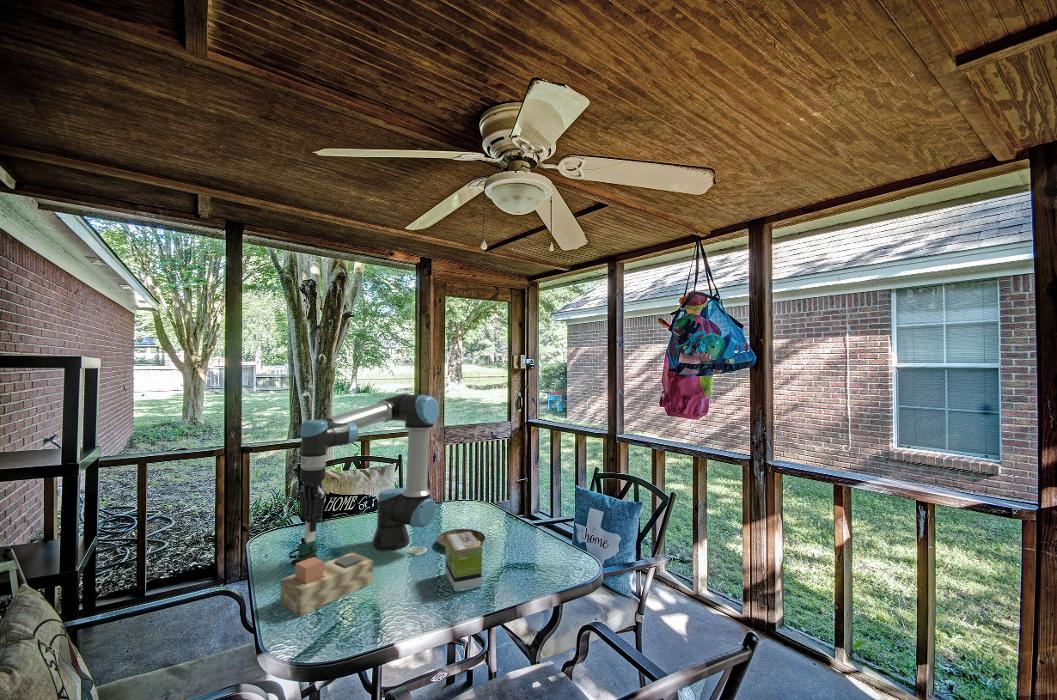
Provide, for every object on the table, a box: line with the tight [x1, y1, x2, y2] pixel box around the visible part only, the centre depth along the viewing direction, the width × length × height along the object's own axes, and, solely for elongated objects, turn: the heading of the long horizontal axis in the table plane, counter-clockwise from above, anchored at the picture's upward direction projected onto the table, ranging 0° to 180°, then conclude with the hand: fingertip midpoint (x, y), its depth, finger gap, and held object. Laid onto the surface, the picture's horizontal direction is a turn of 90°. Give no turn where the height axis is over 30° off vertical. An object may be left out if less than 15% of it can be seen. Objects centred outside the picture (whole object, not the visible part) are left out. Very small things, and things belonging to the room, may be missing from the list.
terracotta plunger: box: [294, 557, 325, 585], centre depth 146 cm, size 6×6×8 cm
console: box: [279, 551, 374, 618], centre depth 152 cm, size 26×12×8 cm, turn 146°
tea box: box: [444, 532, 483, 591], centre depth 163 cm, size 15×10×15 cm, turn 23°
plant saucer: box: [436, 528, 486, 550], centre depth 195 cm, size 21×21×3 cm
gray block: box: [335, 555, 361, 568], centre depth 158 cm, size 6×6×8 cm
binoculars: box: [288, 537, 318, 565], centre depth 176 cm, size 9×11×10 cm
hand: (310, 540), depth 147 cm, fingers closed
